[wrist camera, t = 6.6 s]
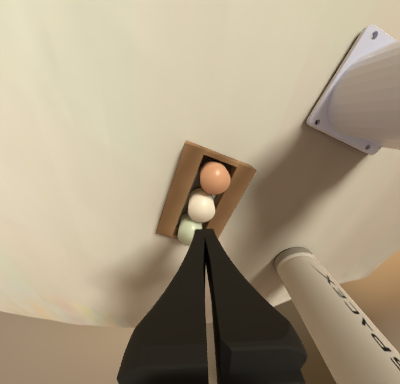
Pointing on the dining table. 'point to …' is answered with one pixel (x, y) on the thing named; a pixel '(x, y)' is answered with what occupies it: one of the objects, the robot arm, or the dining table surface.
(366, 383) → the travel mug
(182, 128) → the dining table surface
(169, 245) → the dining table surface
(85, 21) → the dining table surface
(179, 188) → the panel
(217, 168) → the button
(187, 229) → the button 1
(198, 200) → the button mid
